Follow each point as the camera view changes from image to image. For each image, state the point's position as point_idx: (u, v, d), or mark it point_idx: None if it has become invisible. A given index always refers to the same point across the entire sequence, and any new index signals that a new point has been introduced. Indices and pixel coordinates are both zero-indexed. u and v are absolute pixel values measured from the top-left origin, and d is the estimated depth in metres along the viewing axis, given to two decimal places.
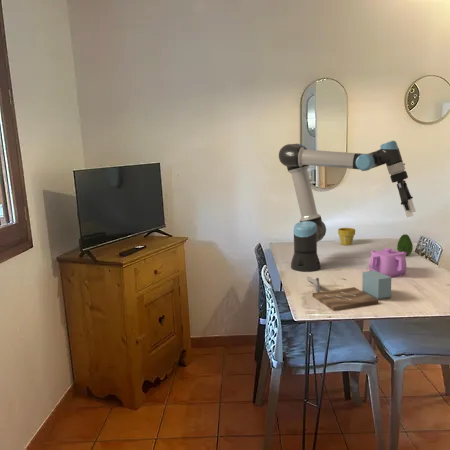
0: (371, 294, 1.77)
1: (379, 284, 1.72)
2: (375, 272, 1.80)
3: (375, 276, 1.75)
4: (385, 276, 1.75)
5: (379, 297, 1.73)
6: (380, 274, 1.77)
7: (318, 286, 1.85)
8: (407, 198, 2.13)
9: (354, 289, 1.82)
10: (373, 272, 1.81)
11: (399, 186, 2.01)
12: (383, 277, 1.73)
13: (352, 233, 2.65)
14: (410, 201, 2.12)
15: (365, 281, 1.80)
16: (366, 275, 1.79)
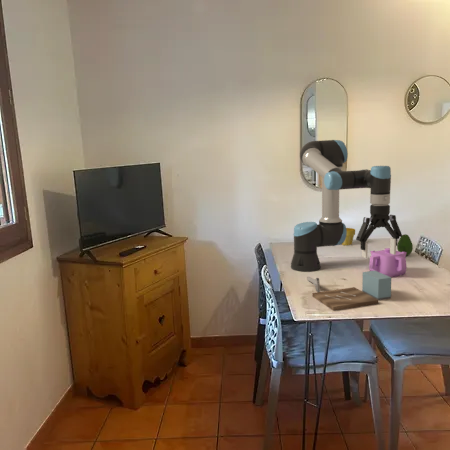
0: (371, 294, 1.77)
1: (379, 284, 1.72)
2: (375, 272, 1.80)
3: (375, 276, 1.75)
4: (385, 276, 1.75)
5: (379, 297, 1.73)
6: (380, 275, 1.77)
7: (318, 286, 1.85)
8: (393, 236, 1.77)
9: (354, 289, 1.82)
10: (373, 272, 1.81)
11: (364, 220, 1.72)
12: (383, 277, 1.73)
13: (352, 233, 2.65)
14: (393, 241, 1.77)
15: (365, 281, 1.80)
16: (366, 275, 1.79)
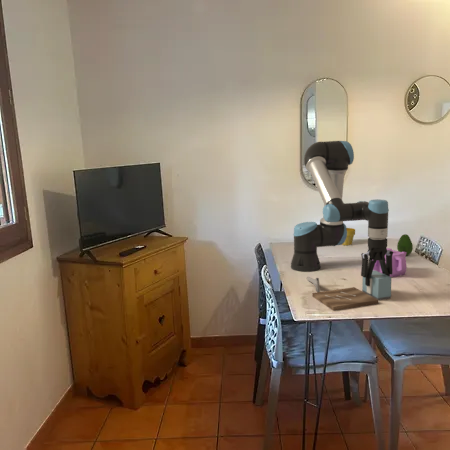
0: (371, 294, 1.77)
1: (379, 284, 1.72)
2: (375, 272, 1.80)
3: (375, 276, 1.75)
4: (385, 276, 1.75)
5: (379, 297, 1.73)
6: (380, 274, 1.77)
7: (318, 286, 1.85)
8: (383, 273, 1.79)
9: (354, 289, 1.82)
10: (373, 271, 1.81)
11: (363, 257, 1.74)
12: (383, 277, 1.73)
13: (352, 233, 2.65)
14: None
15: None
16: None
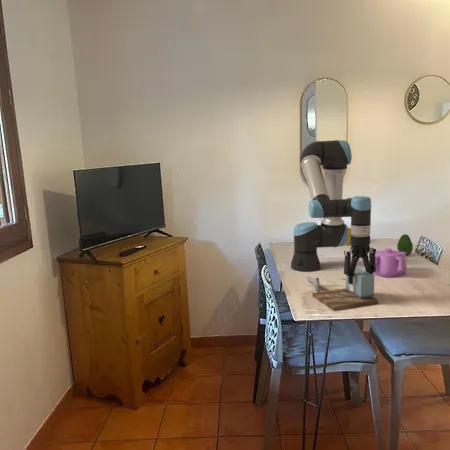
0: (354, 292, 1.75)
1: (362, 282, 1.69)
2: (358, 270, 1.78)
3: (358, 274, 1.73)
4: (368, 274, 1.72)
5: (362, 295, 1.70)
6: (363, 272, 1.74)
7: (318, 286, 1.85)
8: (367, 271, 1.76)
9: None
10: (356, 269, 1.79)
11: (345, 255, 1.72)
12: (366, 275, 1.71)
13: None
14: None
15: None
16: None
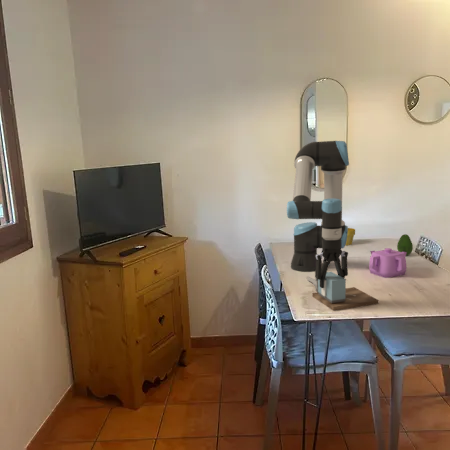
0: (326, 296, 1.71)
1: (333, 286, 1.66)
2: (331, 273, 1.75)
3: (329, 278, 1.69)
4: (339, 278, 1.69)
5: (333, 299, 1.67)
6: (334, 276, 1.71)
7: None
8: (339, 275, 1.73)
9: (354, 289, 1.82)
10: (328, 273, 1.75)
11: (316, 258, 1.69)
12: (337, 279, 1.68)
13: (352, 233, 2.65)
14: None
15: None
16: None
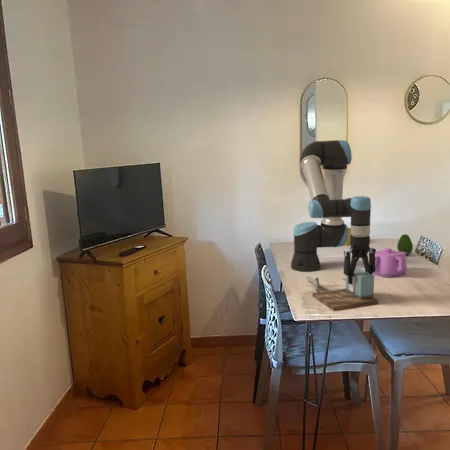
0: (354, 292, 1.74)
1: (361, 282, 1.69)
2: (358, 270, 1.78)
3: (358, 274, 1.73)
4: (368, 274, 1.72)
5: (361, 295, 1.70)
6: (362, 272, 1.74)
7: (318, 286, 1.85)
8: (366, 271, 1.76)
9: None
10: (356, 269, 1.79)
11: (345, 255, 1.72)
12: (366, 275, 1.71)
13: None
14: None
15: None
16: None
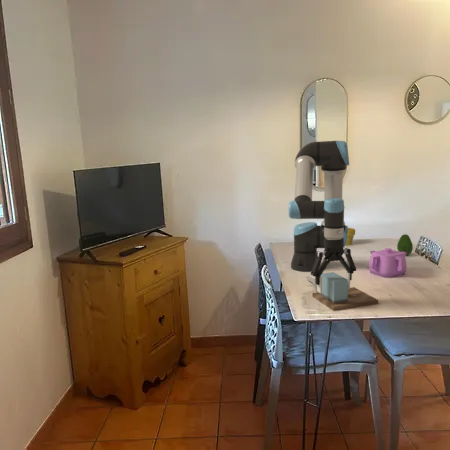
0: (328, 297, 1.71)
1: (335, 287, 1.66)
2: (333, 274, 1.75)
3: (331, 278, 1.70)
4: (342, 278, 1.69)
5: (335, 300, 1.67)
6: (337, 276, 1.71)
7: None
8: (347, 270, 1.74)
9: (354, 289, 1.82)
10: (330, 273, 1.76)
11: (317, 255, 1.68)
12: (339, 279, 1.68)
13: (352, 233, 2.65)
14: (347, 275, 1.73)
15: (322, 283, 1.75)
16: (323, 277, 1.74)
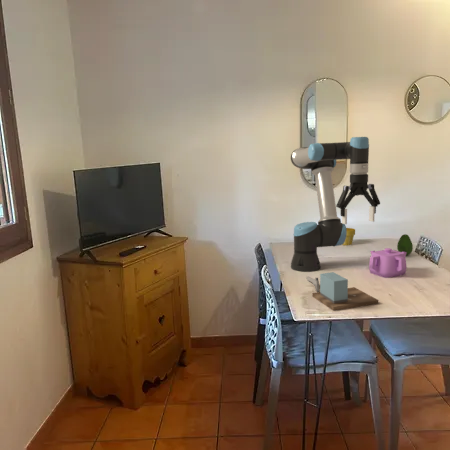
0: (328, 297, 1.71)
1: (335, 287, 1.66)
2: (333, 274, 1.75)
3: (331, 278, 1.70)
4: (342, 278, 1.69)
5: (335, 300, 1.67)
6: (337, 276, 1.71)
7: (318, 286, 1.85)
8: (372, 204, 1.88)
9: (354, 289, 1.82)
10: (330, 273, 1.76)
11: (344, 189, 1.83)
12: (339, 279, 1.68)
13: (352, 233, 2.65)
14: (372, 208, 1.87)
15: (322, 283, 1.75)
16: (323, 277, 1.74)
